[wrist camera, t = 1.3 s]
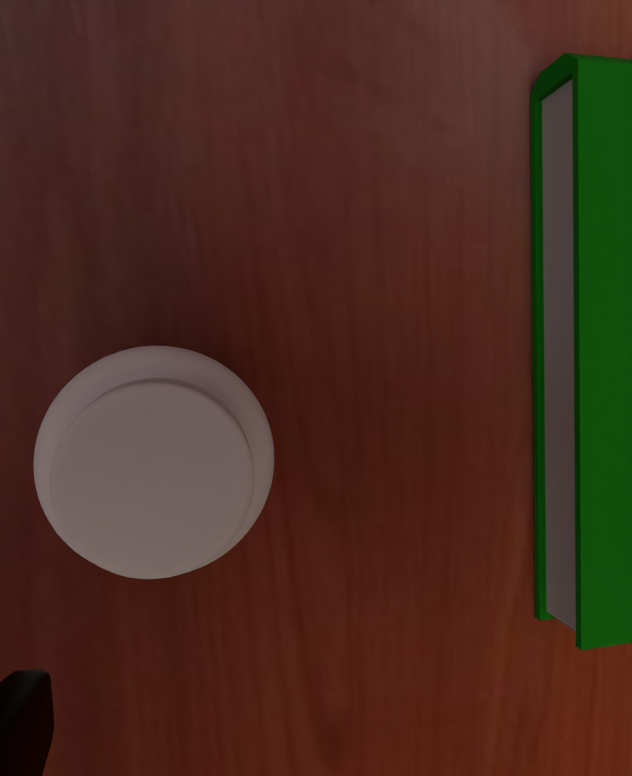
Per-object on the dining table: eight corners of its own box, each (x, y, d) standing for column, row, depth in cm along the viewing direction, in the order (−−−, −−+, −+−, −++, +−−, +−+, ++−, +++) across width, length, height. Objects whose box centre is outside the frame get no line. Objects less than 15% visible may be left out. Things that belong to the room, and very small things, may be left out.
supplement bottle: (257, 482, 22) (318, 578, 12) (106, 521, 21) (40, 661, 11) (225, 337, 22) (263, 316, 12) (69, 369, 21) (-34, 374, 11)
